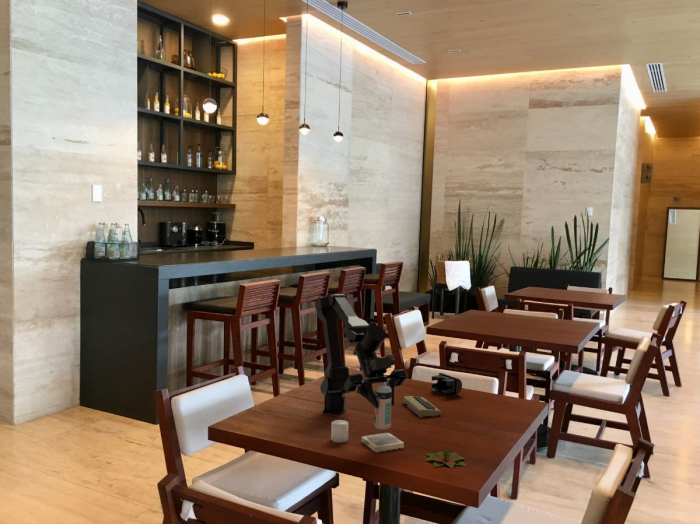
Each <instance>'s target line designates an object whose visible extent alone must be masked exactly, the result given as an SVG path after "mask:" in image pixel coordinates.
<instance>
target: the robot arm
mask: <svg viewBox="0 0 700 524" xmlns="http://www.w3.org/2000/svg"><path fill="white" fill-rule="evenodd" d="M346 296H347V295H346V294H344V293H332V294H329V295H328V296H319V297H317V299H316V300H315V302H314V309H315V310H316V316H317V317H318V318H319V320H320V321H321V322H322V325H323V332H324V333H323V334H324V342H325V349H326V357H327V359H326V360H327V367H326V369H325V371H324V379H323V380H322V382H321V384H320V385H319V387H320V388H319V389H320V393H322V395H324V406H323V407H324V409H322V413H329V414H336V415H337V414H338V415H340V414H342V413H344V411H345V410H346V409H347V397H346V394H349V393H353V392H356V393H357V394H360V395H361V396H362V397H363V398H365V399H366V400H367V401H368V402H369V403H370V404H371V405H372V406H373V407H374V409H375V408H378V402H377V400H376V397H375V391H374V389H373V384H382V383H383V385H387V386H390V388H391V390H392V399H391V407H394V405H395V388H396V387H400V386H402V384H403V383H404V382H405V381H406V379H407V378H408V374H407V371H406V370H405V369H394V370H392V371H391V373H389V374H387V375H385V374H386V373H387V372H388V369H391V368H392V366H395V365H396V362H397V361H396V358H395V355H394V354H393V353H389V354H387V355H385V356H383V357H380V356H378V355H377V352H376V351H378V350H379V349H380V348H381V346H382V344H383V342H384V341H385V339H386V338H387V332H386V330H385V329H384V328H382V327H381V326H379V325H377V322H369V323H368V322H367V321H366V320H364V319H362V318H360V317H358V316H357V314H356V312H355V311H354V309H353V307H352V306H351V305H350V303H349V302H348V300H347V297H346ZM338 319H340V320H341V322H342V323H343V325H344V328H345V330H344V334H345V338H346V339H347V341H348V342H349V343H350V344H355V343H357V344H356V345H355V347H354V350H353V351H352V352H353V353H352V355H354V356H356V357H357V359H358V364H359V366H360V367H359V368H358V369H359V371H360V372H362V374H361V373H356V374H350V370H349V368H348V366H345V363H343V358H342V352H341V343H340V336H339V335H340V334H339V327H338V326H339V325H338Z"/></svg>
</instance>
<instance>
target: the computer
mask: <svg viewBox="0 0 700 524" xmlns="http://www.w3.org/2000/svg"><path fill="white" fill-rule="evenodd" d="M402 404H403V405H404V404H405V405H404V406H406V407H408V408H407V409H409V411H410V412H412V411H413V412H412V413H414V414H415V415H416V414H417V415H418V416H417V415H416V416H417V417H418V418H424V417H423V416H432V417H439V416H438V415H442V411H441V410H440V409H439V408H437V407H436V405H434V404H432V403H431V402H430V401H428V400H427V399H426V398H424V397H422V396H415V395H414V396H413V395H405V396H403V399H402ZM406 404H407V405H406ZM436 415H437V416H436Z"/></svg>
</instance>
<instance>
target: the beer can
mask: <svg viewBox="0 0 700 524" xmlns="http://www.w3.org/2000/svg"><path fill="white" fill-rule="evenodd" d="M374 394H375V397H376V400H377V402H378V408H375V407H374V416H373V419H374V420H373V421H374V422H373V426H374V428H375V429H377V430H380V431H384V430H389V429H390V428H391V425H392V406H391V399H392V390H391V388H390V386H387V385H384V384H380V385H377V386H376V387H375V390H374Z"/></svg>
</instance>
